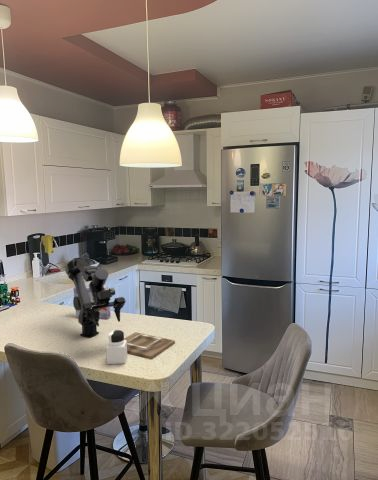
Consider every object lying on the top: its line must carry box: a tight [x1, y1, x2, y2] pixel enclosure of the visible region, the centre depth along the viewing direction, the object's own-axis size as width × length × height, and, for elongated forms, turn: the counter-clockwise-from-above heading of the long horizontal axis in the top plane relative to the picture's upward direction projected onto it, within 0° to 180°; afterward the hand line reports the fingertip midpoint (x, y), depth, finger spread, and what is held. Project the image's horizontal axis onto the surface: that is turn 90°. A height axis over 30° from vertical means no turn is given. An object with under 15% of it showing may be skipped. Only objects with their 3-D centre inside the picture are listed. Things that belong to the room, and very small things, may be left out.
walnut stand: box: [124, 332, 176, 360], centre depth 168 cm, size 22×18×2 cm
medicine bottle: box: [106, 329, 128, 365], centre depth 154 cm, size 7×7×12 cm
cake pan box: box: [72, 284, 112, 320], centre depth 205 cm, size 19×5×18 cm, turn 81°
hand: (109, 323), depth 159 cm, fingers open, 9 cm apart
